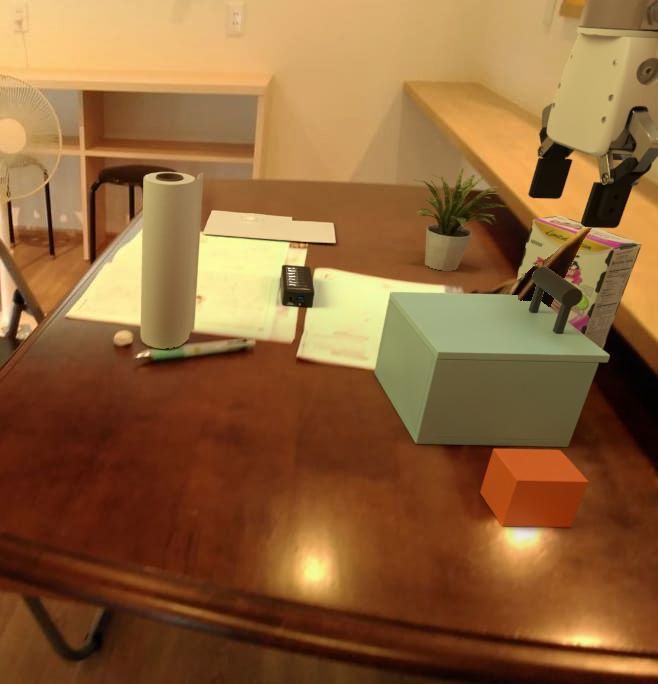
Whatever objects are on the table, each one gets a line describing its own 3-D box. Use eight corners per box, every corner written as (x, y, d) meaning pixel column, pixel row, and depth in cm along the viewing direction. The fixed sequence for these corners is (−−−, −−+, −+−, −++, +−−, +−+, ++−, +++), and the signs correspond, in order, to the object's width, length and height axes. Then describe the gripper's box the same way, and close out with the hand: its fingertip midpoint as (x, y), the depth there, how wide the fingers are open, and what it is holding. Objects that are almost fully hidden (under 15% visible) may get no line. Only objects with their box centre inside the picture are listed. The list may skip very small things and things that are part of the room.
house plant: (420, 285, 108) (443, 182, 101) (377, 255, 120) (394, 161, 113) (500, 280, 111) (528, 179, 103) (450, 251, 123) (472, 159, 116)
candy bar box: (496, 335, 93) (530, 217, 85) (524, 330, 94) (559, 214, 87) (569, 374, 84) (614, 246, 76) (598, 368, 85) (645, 241, 78)
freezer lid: (531, 301, 78) (546, 253, 76) (607, 362, 65) (628, 307, 63) (388, 298, 78) (398, 249, 76) (436, 359, 65) (450, 303, 63)
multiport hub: (308, 279, 109) (310, 266, 108) (312, 307, 100) (314, 293, 99) (280, 277, 110) (282, 264, 109) (281, 305, 100) (283, 290, 99)
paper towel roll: (139, 349, 87) (143, 181, 77) (140, 328, 92) (143, 169, 82) (196, 351, 87) (207, 183, 77) (194, 330, 92) (203, 170, 82)
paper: (202, 236, 127) (202, 230, 127) (208, 210, 142) (208, 205, 142) (340, 245, 124) (340, 239, 124) (331, 218, 139) (332, 213, 139)
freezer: (502, 375, 83) (524, 301, 78) (568, 447, 70) (599, 363, 66) (373, 373, 83) (388, 298, 78) (415, 444, 70) (436, 359, 65)
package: (544, 493, 63) (560, 449, 61) (570, 527, 59) (589, 481, 57) (479, 492, 63) (493, 448, 61) (501, 526, 59) (517, 480, 57)
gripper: (752, 23, 51) (667, 241, 59) (614, 15, 67) (560, 189, 75) (652, 20, 51) (580, 239, 59) (537, 13, 67) (491, 187, 75)
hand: (569, 211), depth 67 cm, fingers open, 9 cm apart
